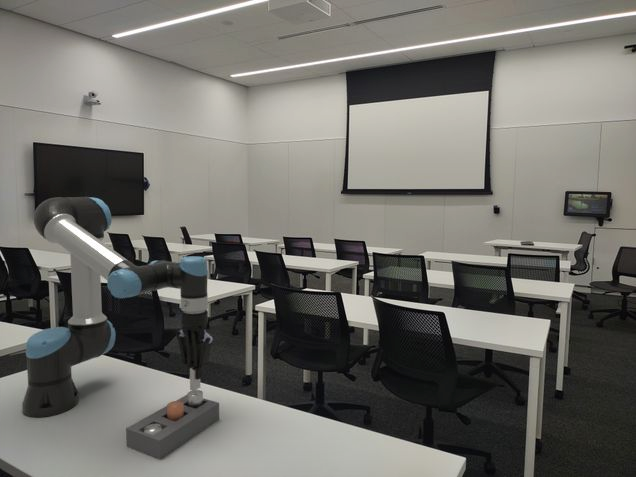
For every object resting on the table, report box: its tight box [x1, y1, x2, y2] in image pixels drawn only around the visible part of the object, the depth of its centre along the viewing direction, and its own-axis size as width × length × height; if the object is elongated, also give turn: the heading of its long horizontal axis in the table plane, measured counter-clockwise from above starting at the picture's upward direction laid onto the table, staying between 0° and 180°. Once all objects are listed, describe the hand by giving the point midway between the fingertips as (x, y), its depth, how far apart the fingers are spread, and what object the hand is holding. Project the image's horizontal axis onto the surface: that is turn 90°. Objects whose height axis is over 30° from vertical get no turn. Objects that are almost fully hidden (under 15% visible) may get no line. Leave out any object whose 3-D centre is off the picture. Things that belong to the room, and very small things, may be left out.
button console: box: [125, 394, 220, 460], centre depth 125 cm, size 12×23×5 cm, turn 153°
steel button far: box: [186, 389, 204, 409], centre depth 132 cm, size 4×4×4 cm
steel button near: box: [144, 424, 162, 435], centre depth 118 cm, size 4×4×4 cm
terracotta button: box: [166, 400, 184, 421], centre depth 124 cm, size 4×4×4 cm
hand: (195, 388), depth 131 cm, fingers closed
